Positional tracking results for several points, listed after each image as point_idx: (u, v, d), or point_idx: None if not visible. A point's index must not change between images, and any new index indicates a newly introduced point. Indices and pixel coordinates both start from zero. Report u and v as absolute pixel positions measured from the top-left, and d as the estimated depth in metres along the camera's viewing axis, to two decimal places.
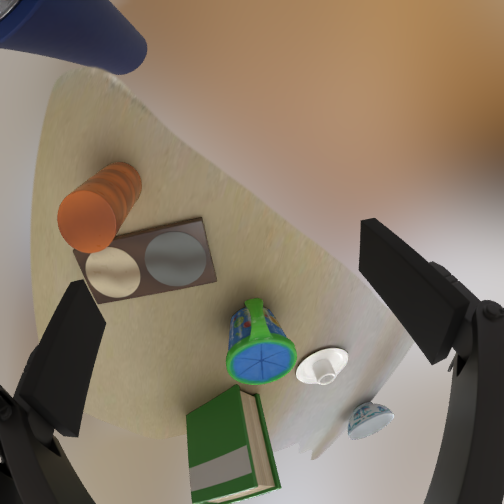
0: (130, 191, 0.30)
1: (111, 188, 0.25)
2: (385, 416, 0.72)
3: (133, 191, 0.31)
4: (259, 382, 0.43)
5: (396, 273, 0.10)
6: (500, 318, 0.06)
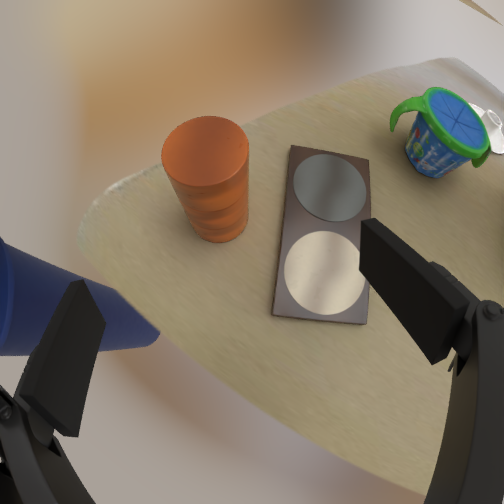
0: None
1: None
2: None
3: None
4: (485, 135, 0.25)
5: (396, 273, 0.10)
6: (500, 318, 0.06)
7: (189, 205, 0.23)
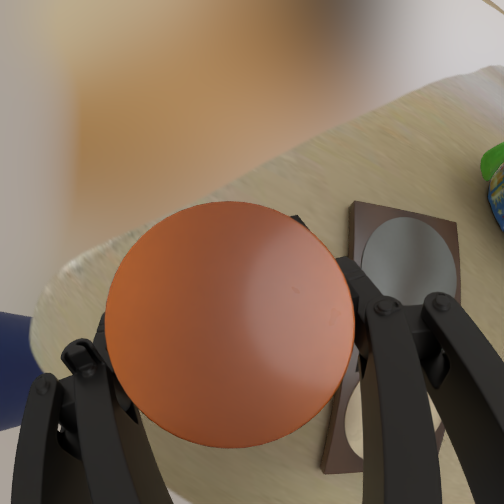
0: None
1: None
2: None
3: None
4: None
5: None
6: (396, 312, 0.08)
7: None
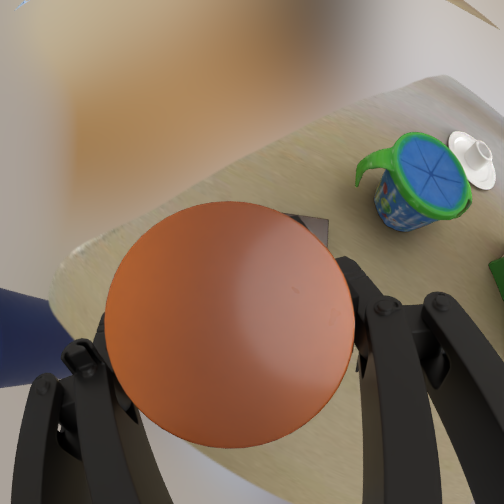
0: None
1: None
2: None
3: None
4: (465, 188, 0.25)
5: None
6: (396, 312, 0.08)
7: None
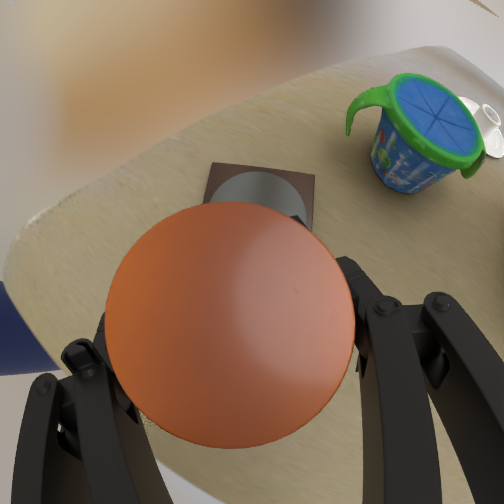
0: None
1: None
2: None
3: None
4: (477, 135, 0.19)
5: None
6: (396, 312, 0.08)
7: None
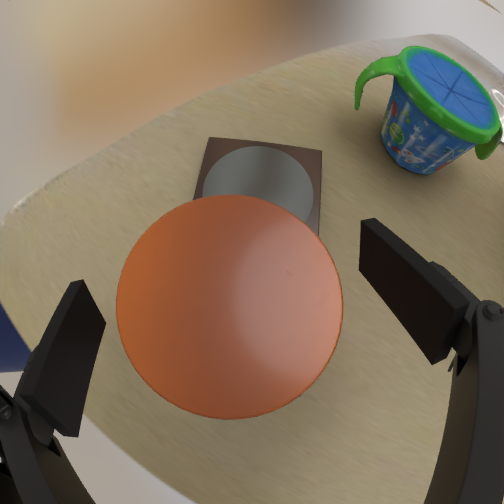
0: None
1: None
2: None
3: None
4: (494, 111, 0.16)
5: (396, 273, 0.10)
6: (500, 318, 0.06)
7: None
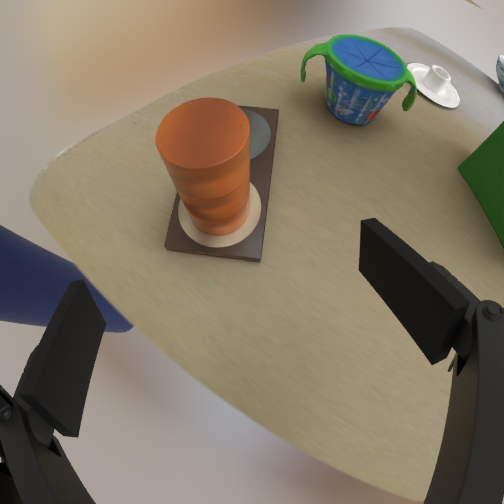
0: None
1: None
2: None
3: None
4: (403, 70, 0.26)
5: (396, 273, 0.10)
6: (500, 318, 0.06)
7: (186, 192, 0.21)
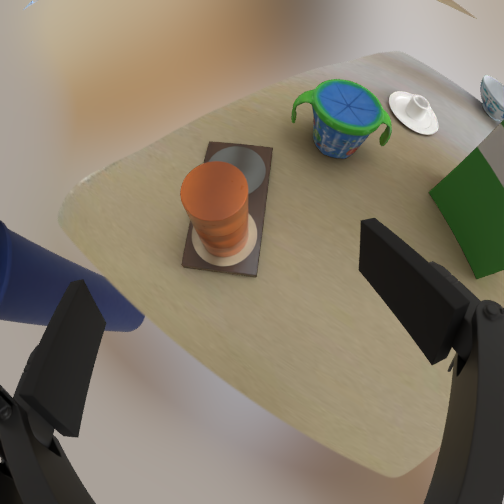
0: None
1: None
2: (496, 88, 0.48)
3: None
4: (379, 114, 0.35)
5: (396, 273, 0.10)
6: (500, 318, 0.06)
7: (202, 231, 0.30)
